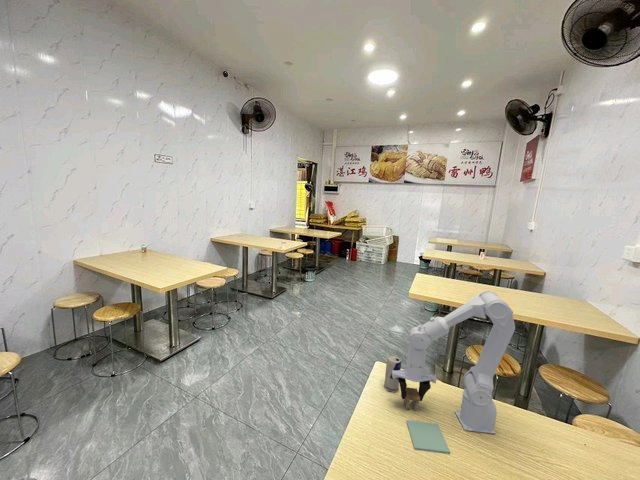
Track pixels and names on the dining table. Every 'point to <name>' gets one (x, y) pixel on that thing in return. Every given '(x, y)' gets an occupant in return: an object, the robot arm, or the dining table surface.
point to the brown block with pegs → (411, 397)
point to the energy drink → (392, 364)
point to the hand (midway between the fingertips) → (411, 398)
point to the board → (427, 437)
